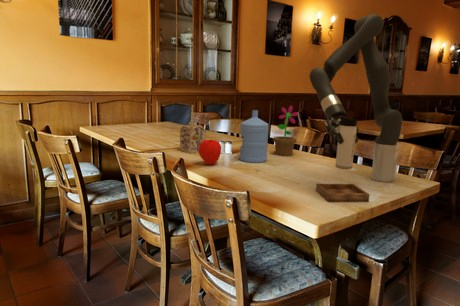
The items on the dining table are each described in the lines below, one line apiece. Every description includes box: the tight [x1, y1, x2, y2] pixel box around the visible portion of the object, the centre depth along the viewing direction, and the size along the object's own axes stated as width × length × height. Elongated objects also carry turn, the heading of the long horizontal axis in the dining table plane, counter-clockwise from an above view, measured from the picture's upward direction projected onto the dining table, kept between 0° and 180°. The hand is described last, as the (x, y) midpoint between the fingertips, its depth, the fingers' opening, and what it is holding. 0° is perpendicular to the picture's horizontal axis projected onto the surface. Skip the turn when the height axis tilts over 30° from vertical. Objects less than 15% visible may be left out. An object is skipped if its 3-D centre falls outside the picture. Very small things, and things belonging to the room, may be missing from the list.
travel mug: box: [335, 116, 358, 170], centre depth 138 cm, size 6×7×20 cm
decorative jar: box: [179, 121, 207, 154], centre depth 220 cm, size 12×12×18 cm
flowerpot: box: [272, 105, 299, 157], centre depth 217 cm, size 14×14×30 cm
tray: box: [315, 183, 370, 203], centre depth 142 cm, size 16×14×3 cm
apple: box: [198, 139, 222, 166], centre depth 188 cm, size 12×12×13 cm
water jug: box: [238, 109, 269, 164], centre depth 199 cm, size 16×16×28 cm
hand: (349, 142), depth 137 cm, fingers closed on travel mug, 6 cm apart
